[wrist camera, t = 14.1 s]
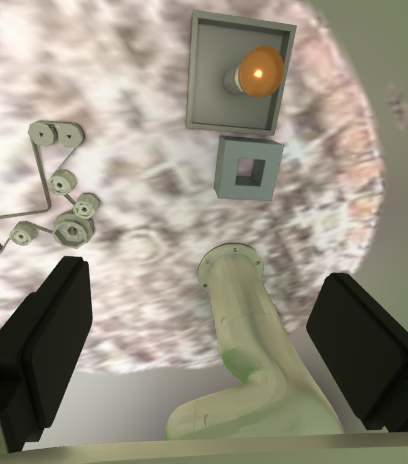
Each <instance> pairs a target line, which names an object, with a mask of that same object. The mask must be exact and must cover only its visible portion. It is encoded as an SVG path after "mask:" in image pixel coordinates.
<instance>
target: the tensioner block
mask: <svg viewBox="0 0 408 464" xmlns="http://www.w3.org/2000/svg"><path fill="white" fill-rule="evenodd" d="M283 148H284V145H282V144H280V143H278V142H275V141H273V140H266V139H255V138H243V137H232V136H220V139H219V148H218V157H217V166H216V174H215V183H214V189H215V191H216V193H217V196H218V198H221V199H240V200H259V201H272V196H273V192H274V187H275V183H276V179H277V174H278V170H279V166H280V161H281V157H282V152H283ZM239 158H246V159H255V160H254V165H253V171H252V176H251V177H240V176H236V175H237V168H238V162H239Z"/></svg>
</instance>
